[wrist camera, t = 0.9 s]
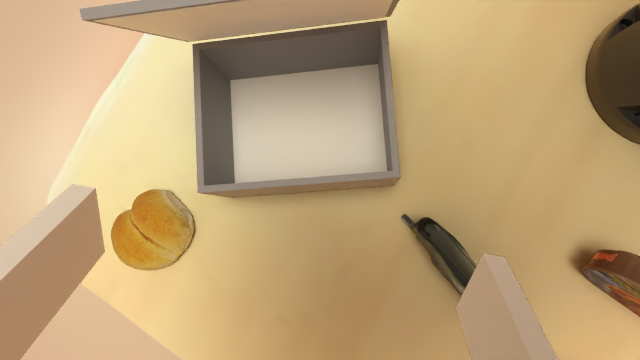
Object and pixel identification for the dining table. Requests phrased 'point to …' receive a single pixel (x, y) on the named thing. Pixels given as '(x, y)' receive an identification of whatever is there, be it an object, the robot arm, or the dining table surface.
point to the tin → (616, 276)
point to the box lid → (232, 16)
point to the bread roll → (152, 231)
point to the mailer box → (295, 112)
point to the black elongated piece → (444, 252)
